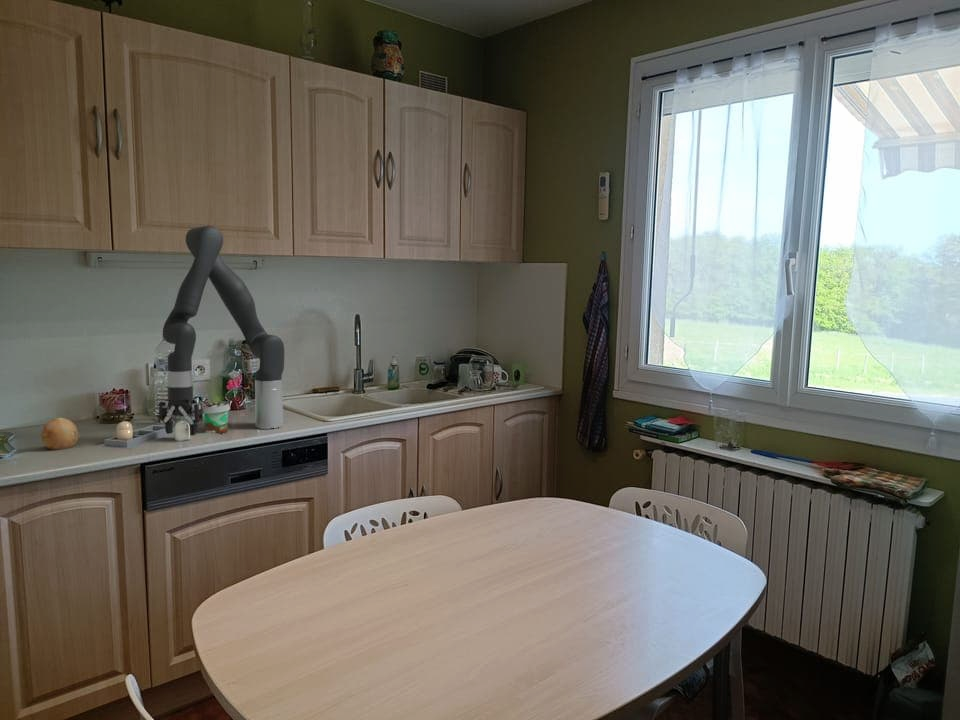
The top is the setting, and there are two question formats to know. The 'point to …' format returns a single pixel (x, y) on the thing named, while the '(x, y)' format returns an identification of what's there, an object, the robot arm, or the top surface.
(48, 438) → the onion
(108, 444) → the carton
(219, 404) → the food container
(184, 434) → the white domed cylinder
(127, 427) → the brown egg
